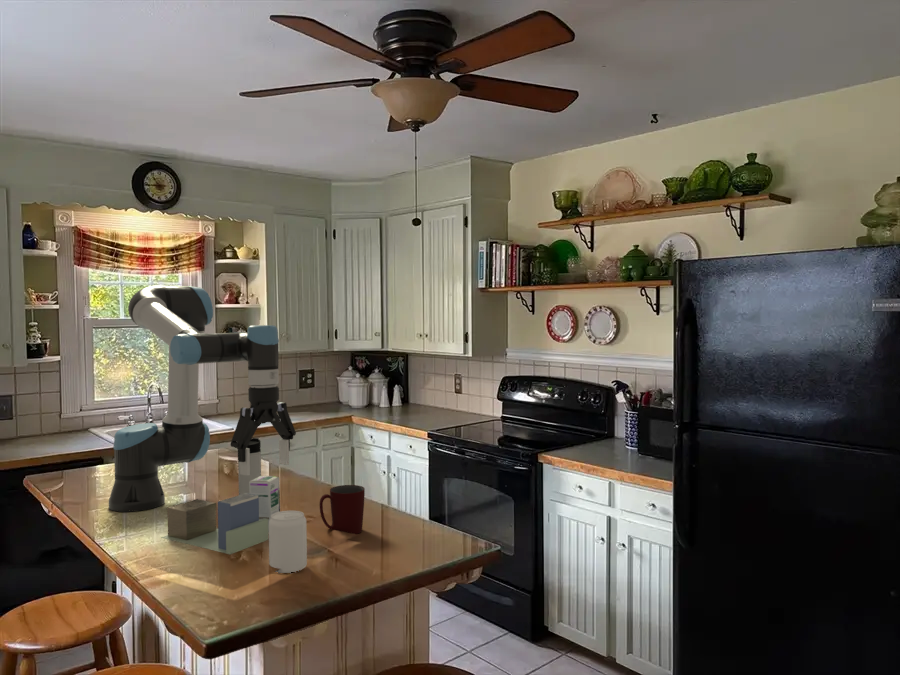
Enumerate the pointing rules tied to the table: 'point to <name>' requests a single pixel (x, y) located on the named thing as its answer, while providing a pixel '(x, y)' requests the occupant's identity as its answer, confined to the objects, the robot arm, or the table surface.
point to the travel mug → (251, 466)
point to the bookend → (191, 519)
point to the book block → (236, 514)
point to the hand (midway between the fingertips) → (265, 469)
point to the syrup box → (266, 495)
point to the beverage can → (288, 541)
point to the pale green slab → (231, 537)
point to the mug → (345, 508)
